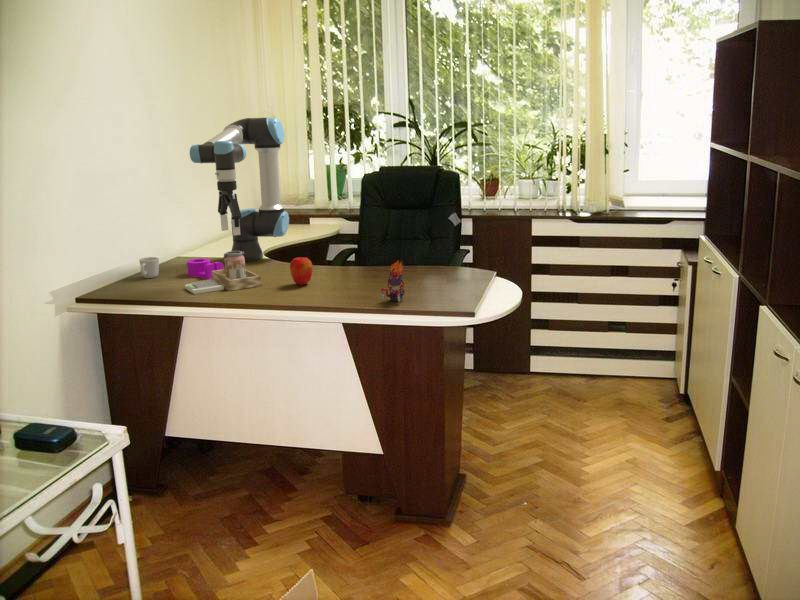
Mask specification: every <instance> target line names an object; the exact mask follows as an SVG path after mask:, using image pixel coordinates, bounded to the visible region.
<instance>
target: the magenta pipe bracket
mask: <svg viewBox="0 0 800 600" xmlns="http://www.w3.org/2000/svg"><path fill="white" fill-rule="evenodd" d="M186 269H187V276H188V277H190V278H191V277H192V278H200V279H206V280H211V278H212V272H211V271H216V270H223V269H224V264H223V262H220V261H215V262H211V259H210V258H201V257H199V258H192V259H188V260H186Z"/></svg>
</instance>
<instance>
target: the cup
mask: <svg viewBox="0 0 800 600" xmlns="http://www.w3.org/2000/svg"><path fill="white" fill-rule="evenodd" d="M159 261H160V259H159V257H157V256H149V257H148V256H146V257H143V258H139V265H140V273H141V274H142V277H143V278H145V279H153V278H158V277H159V273H160V272H159V271H160V262H159Z"/></svg>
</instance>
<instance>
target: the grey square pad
mask: <svg viewBox="0 0 800 600" xmlns="http://www.w3.org/2000/svg"><path fill="white" fill-rule="evenodd" d="M190 284H191V285H192V286H194V287H195V288H197V289H199V288H206V287H212V286H217V283H215V282H214V281H212V280H211V279H206V280H200V281H193V282H192V281H191V282H190Z"/></svg>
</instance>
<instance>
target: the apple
mask: <svg viewBox="0 0 800 600" xmlns="http://www.w3.org/2000/svg"><path fill="white" fill-rule="evenodd" d="M313 268H314V267H313V263H312V261H311V260H310V259H309V258H308V257H303V256H302V257H301V255H300V256H299V257H295V258H293V259H292V260H291V261H290V264H289V272H290V276H291V277H292V279H293V282H294V284H295V283H296V285H297V286H303V285H307V284H308V283H309V282H310V281H311V280H312V275H313V271H314V270H313Z"/></svg>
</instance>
